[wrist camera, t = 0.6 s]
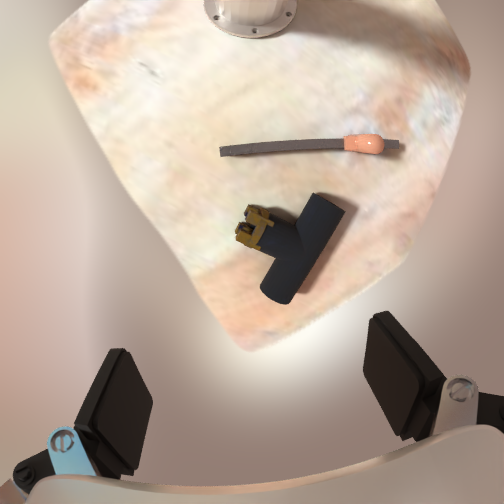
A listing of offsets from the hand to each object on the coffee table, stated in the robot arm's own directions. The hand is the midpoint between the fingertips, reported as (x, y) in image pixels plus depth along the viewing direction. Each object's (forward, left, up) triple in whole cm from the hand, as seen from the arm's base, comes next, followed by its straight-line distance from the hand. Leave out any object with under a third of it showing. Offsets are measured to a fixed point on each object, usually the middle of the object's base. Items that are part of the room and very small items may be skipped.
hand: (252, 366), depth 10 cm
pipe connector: (+5, +5, -30) cm, 31 cm away
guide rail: (-7, +11, -30) cm, 32 cm away
